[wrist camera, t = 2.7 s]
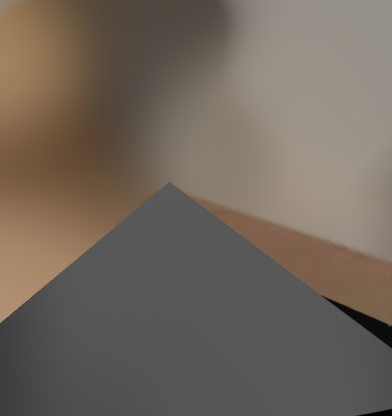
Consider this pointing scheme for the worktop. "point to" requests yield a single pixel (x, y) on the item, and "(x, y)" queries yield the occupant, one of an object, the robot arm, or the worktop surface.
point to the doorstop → (186, 331)
